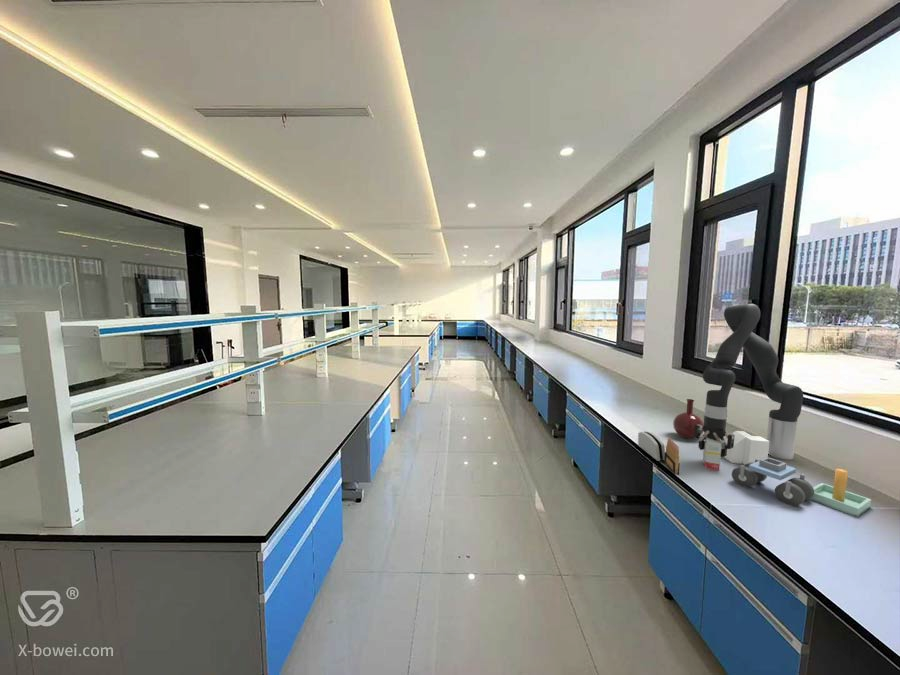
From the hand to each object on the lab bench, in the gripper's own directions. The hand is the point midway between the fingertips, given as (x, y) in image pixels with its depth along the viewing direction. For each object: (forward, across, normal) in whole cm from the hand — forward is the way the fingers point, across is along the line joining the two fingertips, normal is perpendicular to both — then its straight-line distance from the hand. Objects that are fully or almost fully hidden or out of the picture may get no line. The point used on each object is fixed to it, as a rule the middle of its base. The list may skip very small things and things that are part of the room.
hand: (711, 452), depth 147 cm
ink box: (+6, 0, 0) cm, 6 cm away
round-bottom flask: (+6, -22, +23) cm, 32 cm away
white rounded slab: (+6, -17, -12) cm, 22 cm away
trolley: (+5, +21, -3) cm, 22 cm away
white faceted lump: (+6, +4, +16) cm, 18 cm away
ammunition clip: (+6, -6, -18) cm, 20 cm away
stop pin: (+5, +35, +9) cm, 36 cm away
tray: (+5, +35, +8) cm, 37 cm away
